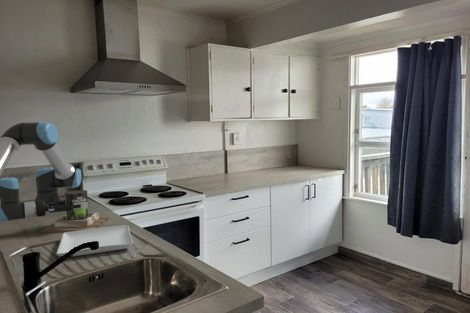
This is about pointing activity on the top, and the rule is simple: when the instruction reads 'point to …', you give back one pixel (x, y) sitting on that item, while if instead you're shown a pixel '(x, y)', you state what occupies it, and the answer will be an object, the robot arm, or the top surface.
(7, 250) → the top surface
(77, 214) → the coffee can
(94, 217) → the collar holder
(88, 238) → the square plate
